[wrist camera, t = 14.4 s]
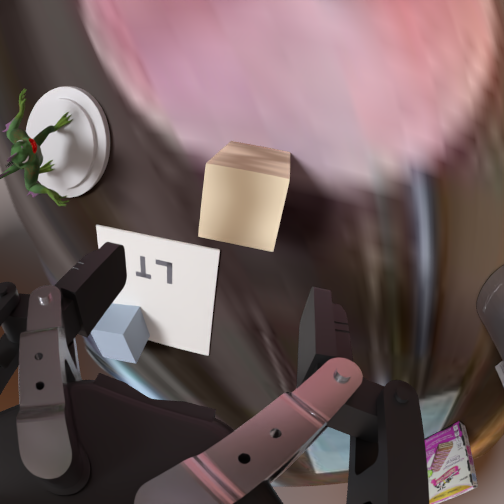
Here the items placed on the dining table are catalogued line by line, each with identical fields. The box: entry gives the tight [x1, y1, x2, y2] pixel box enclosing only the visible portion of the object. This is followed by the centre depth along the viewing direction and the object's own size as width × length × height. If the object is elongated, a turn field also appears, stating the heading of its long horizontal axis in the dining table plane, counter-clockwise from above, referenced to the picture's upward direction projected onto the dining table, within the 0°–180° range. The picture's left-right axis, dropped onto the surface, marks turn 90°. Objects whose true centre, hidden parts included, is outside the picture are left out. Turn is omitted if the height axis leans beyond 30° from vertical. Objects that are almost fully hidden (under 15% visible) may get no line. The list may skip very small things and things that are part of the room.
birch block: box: [198, 141, 290, 252], centre depth 22 cm, size 5×5×8 cm
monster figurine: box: [0, 86, 110, 206], centre depth 21 cm, size 12×12×10 cm
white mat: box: [96, 225, 220, 356], centre depth 34 cm, size 14×16×1 cm
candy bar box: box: [424, 421, 478, 504], centre depth 39 cm, size 11×5×16 cm, turn 140°
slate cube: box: [91, 303, 150, 363], centre depth 34 cm, size 5×5×5 cm
